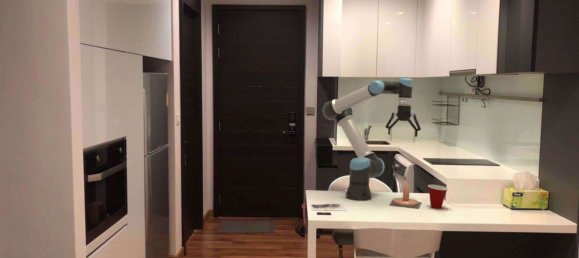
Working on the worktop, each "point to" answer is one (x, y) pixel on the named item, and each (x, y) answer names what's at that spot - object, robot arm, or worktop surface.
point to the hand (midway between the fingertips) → (402, 141)
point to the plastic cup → (437, 195)
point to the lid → (405, 198)
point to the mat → (406, 206)
